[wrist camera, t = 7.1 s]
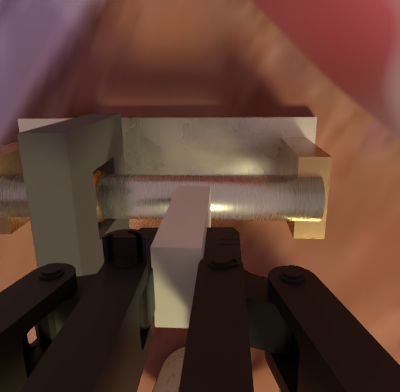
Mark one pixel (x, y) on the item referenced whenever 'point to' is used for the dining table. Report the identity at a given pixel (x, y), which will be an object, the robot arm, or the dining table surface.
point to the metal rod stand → (200, 171)
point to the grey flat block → (70, 187)
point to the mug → (170, 373)
